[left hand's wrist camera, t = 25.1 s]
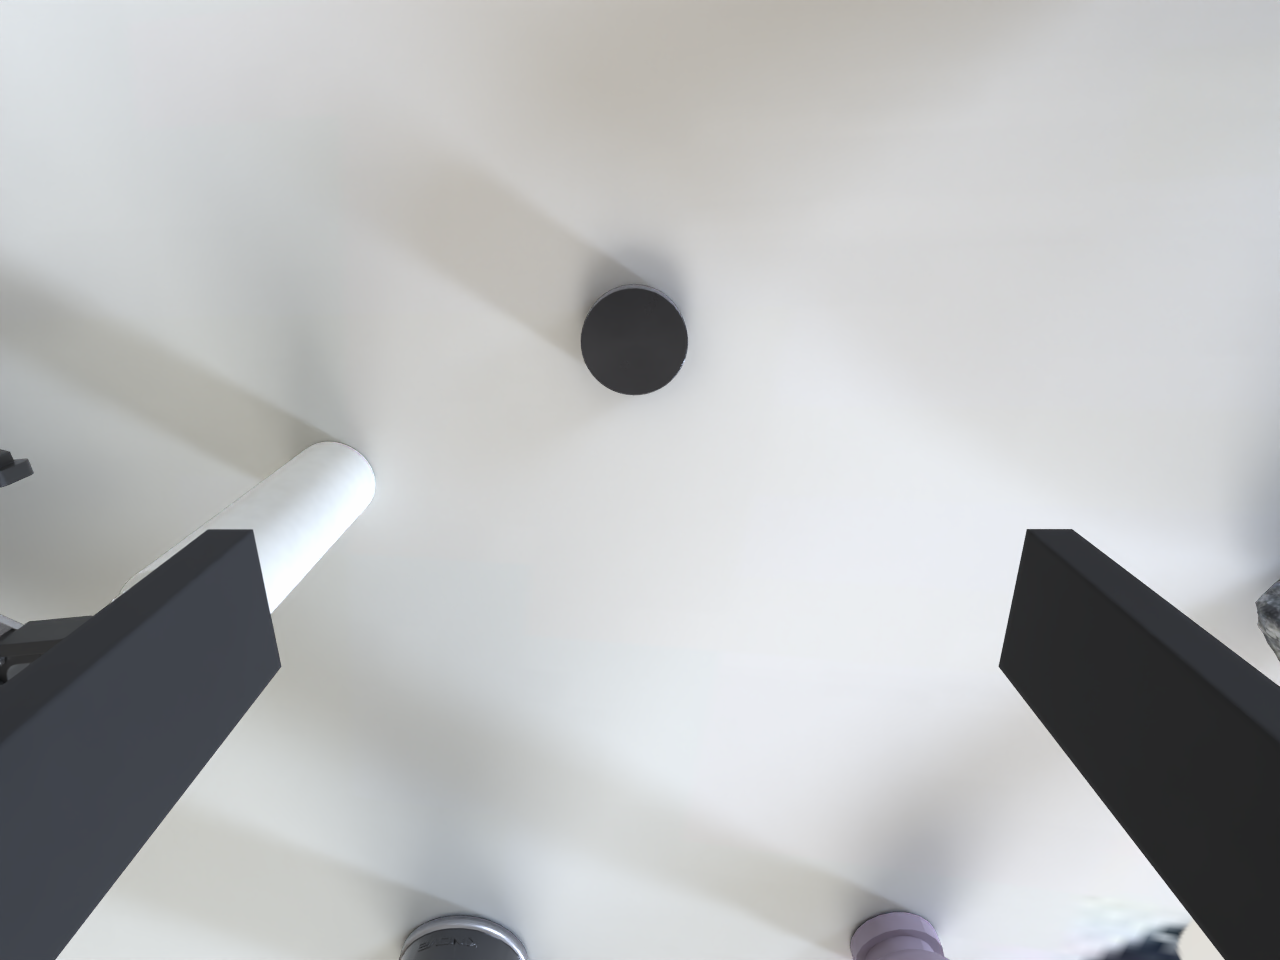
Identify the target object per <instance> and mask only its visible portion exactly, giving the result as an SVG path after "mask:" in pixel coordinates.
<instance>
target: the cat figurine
mask: <svg viewBox="0 0 1280 960" xmlns="http://www.w3.org/2000/svg"><path fill="white" fill-rule="evenodd" d="M850 949H851V953H852V956H853V960H949V959H947V958H945V957H944V954H943V949H942V946H941V943H940V941H939V938H938V936H937V933H936V931H935V929H934V928H933V926H932V925H931V924H930V922H929V921H927V920H925V919H924V918H922V917H920V916H918V915H915V914H911V913H907V912H891V913H887V914H882V915H878V916H876V917H874V918H872V919H870V920H867V921H866V922H865V923H864V924H862V925H861V926H860V927H859V928H858V929H857V930H856V932H855V933H854V935H853V937H852V939H851V945H850Z"/></svg>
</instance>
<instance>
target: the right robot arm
mask: <svg viewBox="0 0 1280 960" xmlns="http://www.w3.org/2000/svg"><path fill="white" fill-rule="evenodd" d="M33 473H34V472H33V470H32V467H31V465H30V463H29V460H28V459H17V460H13V458H12V455H11V453H10V452H9V451H5V450H1V449H0V487H4V486H7V485H10V484H12V483H14V482H16V481H19V480H21V479H23V478H25V477H28V476H30V475H32V474H33ZM92 617H93V616H82V617H72V618H61V619H50V620H40V621H29V622H28V623H26V624H25V625H23V624H21V623H19V622H17V621H14V620H12V619H10V618H8V617H5V616H3V615H1V614H0V687H1V686H2V685H3V684H5V683H6V682H7V681H9V680H10V679H11V678H13V677H14V676H15V675H16V674H18V673H19V672H20V671H22V670H23V669H24V668H26V667H27V666H28V665H30V664H31V663H32V662H34V661H35V660H36V659H38V658H39V657H40V656H42V655H43V654H44V653H45V652H47V651H48V650H49V649H51V648H52V647H53V646H55V645H56V644H57V643H59V642H60V641H61V640H63V639H64V638H65V637H67V636H68V635H69V634H71V633H72V632H73V631H74V630H76V629H77V628H78V627H80V626H81V625H82V624H84V623H85V622H86V621H88V620H89V619H90V618H92ZM399 960H528V956H527V953H526V950H525V948H524V946H523V945H522V943H521V942H520V941H519V939H518V938H517V937H516V936H515V935H514V934H512V933H511V932H510V931H509V930H507V929H506V928H504V927H502V926H501V925H499V924H497V923H494V922H492V921H489V920H486V919H482V918H478V917H473V916H447V917H441V918H438V919H434V920H431V921H429V922H427V923H425V924H423V925H421V926H419V927H418V928H417V929H415V930H414V931H413V932H412V933H411V934H410V935H409V936H408V938H407V939H406V941H405V943H404V945H403V948H402V952H401V955H400V958H399Z"/></svg>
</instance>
